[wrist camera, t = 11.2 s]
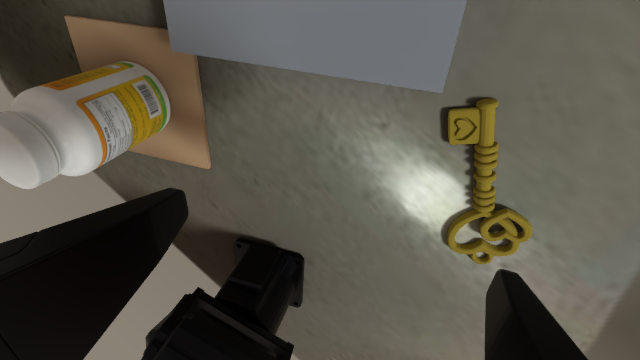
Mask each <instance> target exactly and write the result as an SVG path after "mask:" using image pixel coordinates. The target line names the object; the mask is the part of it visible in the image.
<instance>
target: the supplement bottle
mask: <svg viewBox="0 0 640 360" xmlns="http://www.w3.org/2000/svg"><path fill="white" fill-rule="evenodd" d="M169 118H170V102H169V99H168V96H167V93H166V91H165V89H164V87H163V85H162V84H161V82H160V81H159V80H158V79H157V77H156V76H155V75H154V74H153V73H151V72H150V71H149V70H148V69H146V68H145V67H143V66H141V65H139V64H136V63H133V62H128V61H122V62H117V63H113V64H110V65H106V66H103V67H100V68H97V69H93V70H90V71H87V72H83V73H80V74H77V75H73V76H70V77H66V78H63V79H60V80H56V81H53V82H49V83H46V84H43V85H39V86H36V87H33V88H30V89H27V90H25V91H23V92H21V93H20V94H18V95H17V96H16V98H15V99H14V101H13V103H12V106H11V111H5V112H0V177H2V178H3V179H4V180H6V181H7V182H9V183H11V184H12V185H14V186H17V187H19V188H23V189H32V188H35V187H37V186H40V185H42V184H43V183H45V182H47V181H49V180H52V179H53V178H55V177H56V176H57V175H59V174H63V175H67V176H80V175H84V174H87V173H89V172H91V171H93V170H95V169H96V168H98V167H100V166H102V165H103V164H105V163H107V162H108V161H110V160H112V159H113V158H115V157H117V156H118V155H120V154H122V153H123V152H125V151H127V150H129V149H130V148H132V147H134V146H135V145H137V144H139V143H141V142H142V141H144V140H146V139H148V138H149V137H151V136H153V135H154V134H156V133H158V132H159V131H161V130H162V129H163V128H164V127H165V126H166V125H167V123H168V121H169Z"/></svg>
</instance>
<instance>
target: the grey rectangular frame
mask: <svg viewBox="0 0 640 360" xmlns="http://www.w3.org/2000/svg"><path fill="white" fill-rule="evenodd" d="M163 2H164V8H165V14H166V20H167V26H168V32H169V38H170V45H171V51H173V52H179V53H186V54H192V55H199V56H205V57H212V58H218V59H225V60H231V61H237V62H244V63H250V64H257V65H263V66H270V67H276V68H282V69H289V70H295V71H302V72H308V73H315V74H321V75H327V76H334V77H340V78H347V79H353V80H360V81H366V82H372V83H379V84H385V85H392V86H398V87H405V88H411V89H418V90H424V91H430V92H437V93H443V89H444V85H445V81H446V78H447V74H448V70H449V66H450V63H451V59H452V55H453V51H454V48H455V44H456V40H457V36H458V32H459V29H460V25H461V21H462V17H463V14H464V10H465V6H466V2H467V0H163Z"/></svg>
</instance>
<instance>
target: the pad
mask: <svg viewBox="0 0 640 360" xmlns="http://www.w3.org/2000/svg"><path fill="white" fill-rule="evenodd" d="M64 17H65V21H66V24H67V27H68V30H69V33H70V37H71V40H72V43H73V46H74V49H75V52H76V56H77V59H78V62H79V65H80V68H81V72H82V73H83V72H87V71H90V70H93V69H97V68H100V67H103V66H106V65H110V64H113V63H117V62H122V61H128V62H133V63H136V64H139V65H141V66H143V67H145V68H146V69H148V70H149V71H150V72H151V73H153V74H154V75H155V76H156V77H157V79H158V80H159V81H160V82H161V84H162V85H163V87H164V89H165V91H166V93H167V96H168V99H169V102H170V118H169V121H168V123H167V125H166V126H165V127H164V128H163V129H162V130H161V131H159V132H158V133H156V134H154V135H153V136H151V137H149V138H148V139H146V140H144V141H142V142H141V143H139V144H137V145H135V146H134V147H132V148H130V149H129V150H128V151H132V152H137V153H141V154H145V155H149V156H154V157H158V158H162V159H166V160H171V161H175V162H179V163H183V164H188V165H192V166H196V167H200V168H205V169H209V168H211V162H210V154H209V146H208V138H207V130H206V122H205V115H204V107H203V99H202V91H201V83H200V75H199V68H198V60H197V55H192V54H186V53H179V52H173V51H171V45H170V38H169V32H168V29H166V28H158V27H151V26H144V25H137V24H130V23H123V22H115V21H108V20H101V19H94V18H87V17H79V16H72V15H66V16H64Z"/></svg>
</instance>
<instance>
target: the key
mask: <svg viewBox="0 0 640 360" xmlns="http://www.w3.org/2000/svg"><path fill="white" fill-rule="evenodd" d="M498 104H499V102H498V100H496V99H490V98H484V99H481V100H478V101H477V103H476V107H470V108H458V109H450V110H449V111H448V139H449V144H450V145H457V144H475V145H474V149H475V152H474V157H475V158H476V159H475V160H474V166H475V167H476V168H477V171H475V172H474V174H473V177H474V179H475V180H476V186H475V187H474V188H473V193H474V194H473V199H474V202H473V208H474V209H473V210H471V211H468V212H466V213H464V214H462V215H460V216H459V217H457V218H456V219H455V220H454V221H453V222H452V223H451V225H450V227H449V229H448V231H447V242H448V245H449V247H450V248H451V249H452V250H453V251H455V252H457V253H461V254H470V256H471V259H472V260H473V261H474V262H476V263H478V264H487V263H489V262H491V260H492V259H493V255H494V256H507V255H511V254H513V253H515V252H516V251H517V249H518V247H519V243H520V242H524V241H527V240H528V239H529V238H531V236H532V226H531V224H530V223H529V221H528V220H527V219H525V218H524V217H523V216H522V215H520V214H518V213H516V212H515V211H512V210H510V209H508V208H504V209H502V210H500V211H497V212H496V211H494V210H493V209H494V207H495V203H494V201H495V195H494V194H495V192H496V189H495V187H494V186H491V184H492V182H493V181H494V180H496V177H497V175H496V173H495V171H492V169H493V168H496V166H497V164H498V161H497V157H498V152H497V150H498V148H499V145H498V143H497V142H494V126H495V107H497V106H498ZM480 217H486V218H485V219H484V220H483V221H482V222H481V224H480V228H479V231H480V234H481V236H482V237H483V238H484V239H486V240H488V241H498V240H501V239H504V238H506V239H508V240H510V243H509V244H508V245H506V246H495V245H492V244H490V243H488V242H487V241H485V240H484V239H483V238H480V239H479V240H477V241H476V242H474V243H471V244H458V243H456V241H455V235H456V233H457V232H458V230H459V229H460V228H461V227H463V226H464V225H465V224H467V223H469V222H470V221H472V220H475V219H477V218H480ZM507 217H508V218H510V219H512V220H514V221H515V222H516V223H518V224H519V225H520V226H521V227H522V229H523V231H522V232H521V233H518V230H517V228H516V226H515V225H514V224H513V222H512V221H511V220H510V219H508V218H507ZM496 222H497V223H498V224H500V225H501V226H502V227H504V228H505V229H503V230H501V231H499V232H496V233H490V232H488V229H489V227H490V226H491V225H493V224H494V223H496ZM478 252H485V253H487V254H488V255H487V256H486V257H484V258H479V257H477V256H476V253H478Z"/></svg>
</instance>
